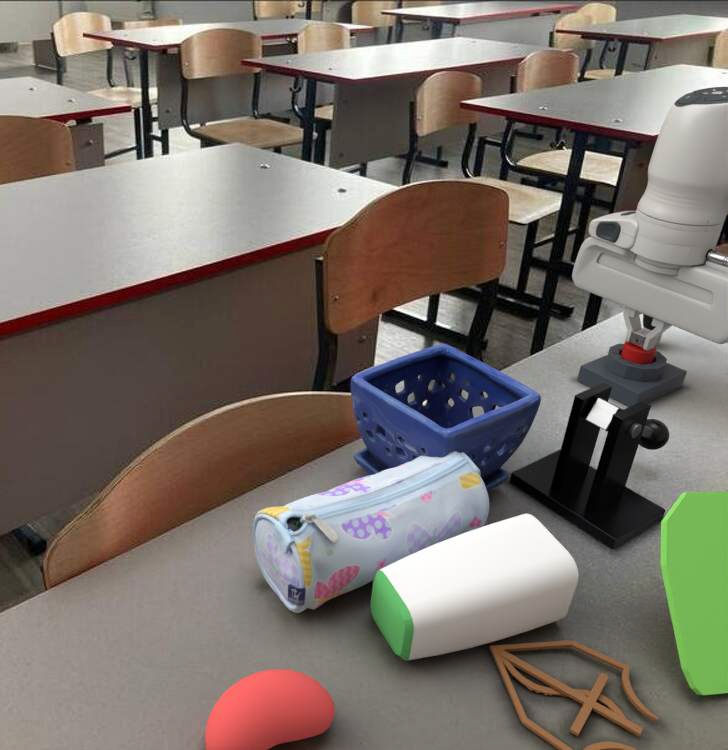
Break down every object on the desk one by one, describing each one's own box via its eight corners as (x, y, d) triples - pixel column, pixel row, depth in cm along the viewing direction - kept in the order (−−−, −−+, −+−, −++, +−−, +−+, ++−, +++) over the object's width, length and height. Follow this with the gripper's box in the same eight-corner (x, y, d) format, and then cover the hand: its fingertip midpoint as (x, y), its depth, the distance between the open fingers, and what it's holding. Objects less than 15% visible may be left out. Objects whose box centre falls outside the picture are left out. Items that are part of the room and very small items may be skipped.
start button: (632, 348, 100) (635, 336, 99) (658, 360, 98) (662, 347, 97) (614, 355, 98) (618, 343, 98) (641, 367, 96) (645, 355, 95)
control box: (624, 360, 105) (632, 333, 103) (682, 386, 99) (691, 358, 97) (576, 380, 100) (583, 352, 98) (634, 409, 95) (643, 380, 93)
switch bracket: (558, 457, 86) (583, 362, 80) (662, 519, 77) (699, 417, 71) (508, 482, 82) (531, 383, 76) (612, 549, 73) (647, 444, 68)
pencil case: (291, 638, 64) (297, 549, 59) (240, 570, 70) (242, 484, 66) (487, 555, 72) (506, 471, 68) (425, 501, 79) (438, 421, 74)
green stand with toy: (802, 489, 66) (740, 500, 72) (651, 493, 63) (599, 504, 69) (852, 680, 62) (782, 676, 68) (693, 696, 59) (633, 689, 64)
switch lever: (635, 442, 84) (651, 416, 84) (663, 457, 82) (680, 430, 82) (578, 420, 75) (595, 391, 75) (608, 437, 73) (626, 406, 72)
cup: (366, 552, 63) (524, 504, 67) (359, 611, 67) (509, 563, 71) (414, 623, 57) (584, 566, 61) (403, 684, 61) (563, 627, 65)
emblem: (626, 789, 53) (623, 795, 53) (671, 688, 59) (668, 694, 60) (460, 688, 59) (458, 694, 60) (517, 607, 66) (515, 613, 66)
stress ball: (325, 685, 52) (322, 645, 58) (191, 710, 52) (202, 669, 59) (343, 761, 52) (338, 713, 58) (210, 785, 53) (218, 735, 59)
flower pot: (428, 542, 74) (447, 436, 68) (337, 469, 84) (347, 371, 78) (523, 494, 80) (547, 394, 74) (428, 432, 90) (443, 338, 84)
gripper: (782, 261, 84) (738, 374, 91) (610, 208, 99) (584, 309, 106) (751, 273, 81) (708, 389, 88) (578, 217, 96) (553, 320, 103)
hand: (639, 345), depth 97 cm, fingers closed, pressing on start button
